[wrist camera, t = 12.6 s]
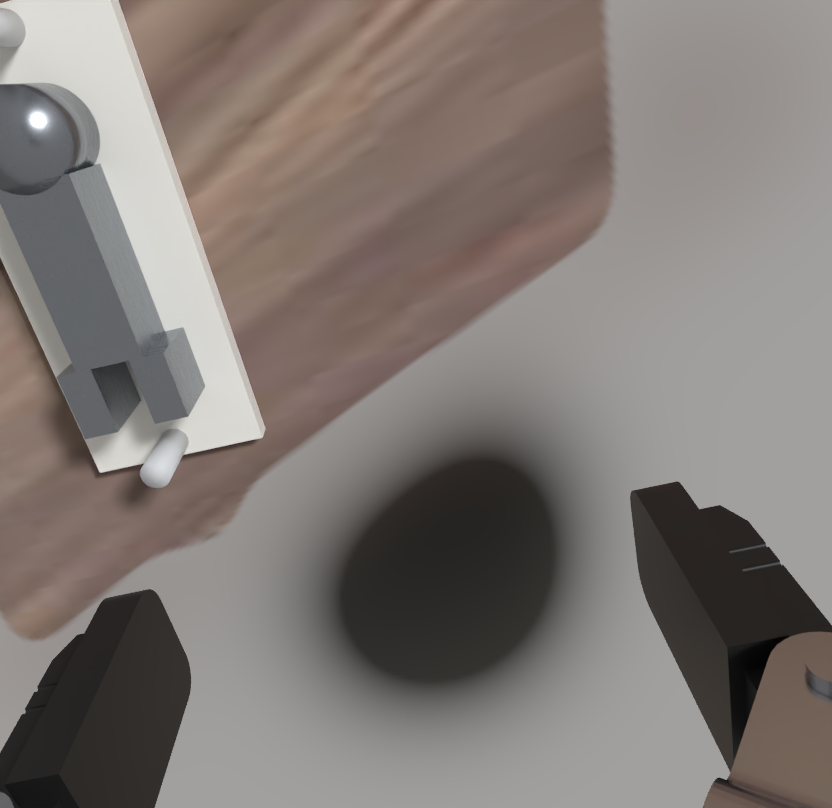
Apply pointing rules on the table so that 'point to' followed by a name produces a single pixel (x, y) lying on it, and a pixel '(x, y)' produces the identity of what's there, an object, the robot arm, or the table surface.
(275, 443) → the table surface
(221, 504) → the table surface
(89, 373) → the ball-topped forked rod
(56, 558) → the table surface
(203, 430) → the peg rest
